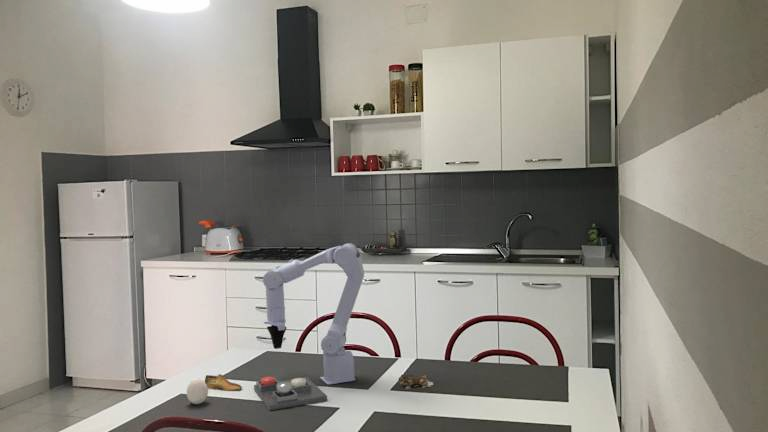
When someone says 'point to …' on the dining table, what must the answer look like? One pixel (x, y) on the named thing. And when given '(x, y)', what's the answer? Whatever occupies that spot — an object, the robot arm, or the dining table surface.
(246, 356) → the dining table surface
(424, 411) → the dining table surface
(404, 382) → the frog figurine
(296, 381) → the ivory button
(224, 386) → the shoe last
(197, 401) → the egg
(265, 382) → the red button
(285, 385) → the steel button
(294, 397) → the slate panel
